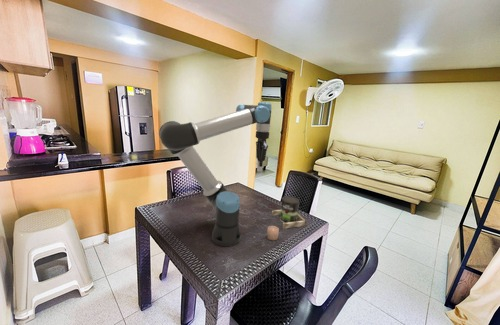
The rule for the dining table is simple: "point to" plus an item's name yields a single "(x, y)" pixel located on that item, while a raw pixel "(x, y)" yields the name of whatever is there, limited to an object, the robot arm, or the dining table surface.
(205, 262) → the dining table surface
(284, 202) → the coffee can
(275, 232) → the tan rounded block
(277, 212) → the corral
